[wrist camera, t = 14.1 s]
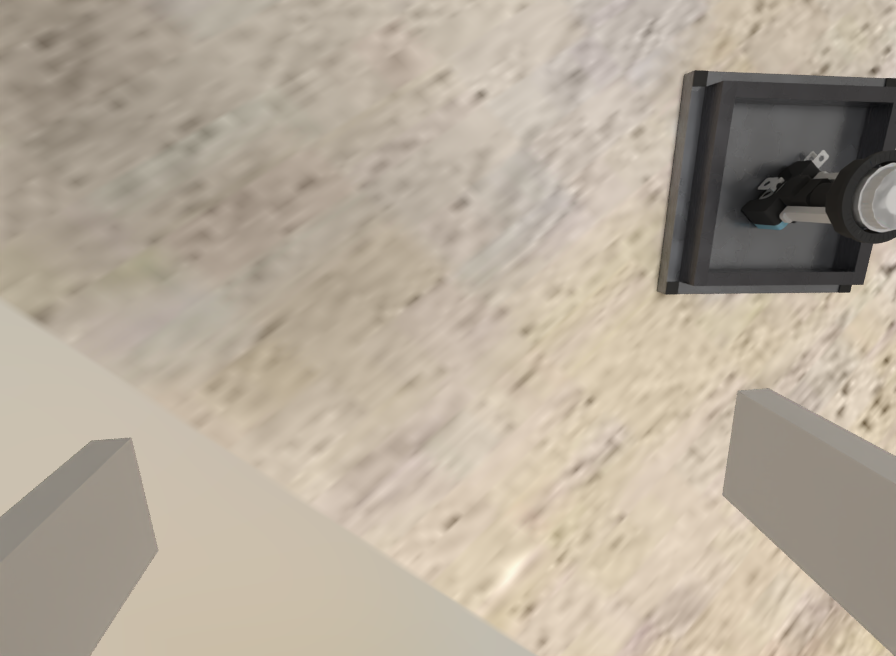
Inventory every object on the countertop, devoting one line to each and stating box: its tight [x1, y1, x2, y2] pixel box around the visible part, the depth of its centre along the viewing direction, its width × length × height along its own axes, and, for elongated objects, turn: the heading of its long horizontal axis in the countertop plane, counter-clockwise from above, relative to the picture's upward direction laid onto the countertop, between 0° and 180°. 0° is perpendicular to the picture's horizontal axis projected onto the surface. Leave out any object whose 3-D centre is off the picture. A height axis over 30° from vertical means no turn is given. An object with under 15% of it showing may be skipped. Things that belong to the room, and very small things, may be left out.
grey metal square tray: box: [657, 70, 896, 294], centre depth 37 cm, size 16×16×3 cm
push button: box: [742, 150, 896, 244], centre depth 32 cm, size 7×5×10 cm
